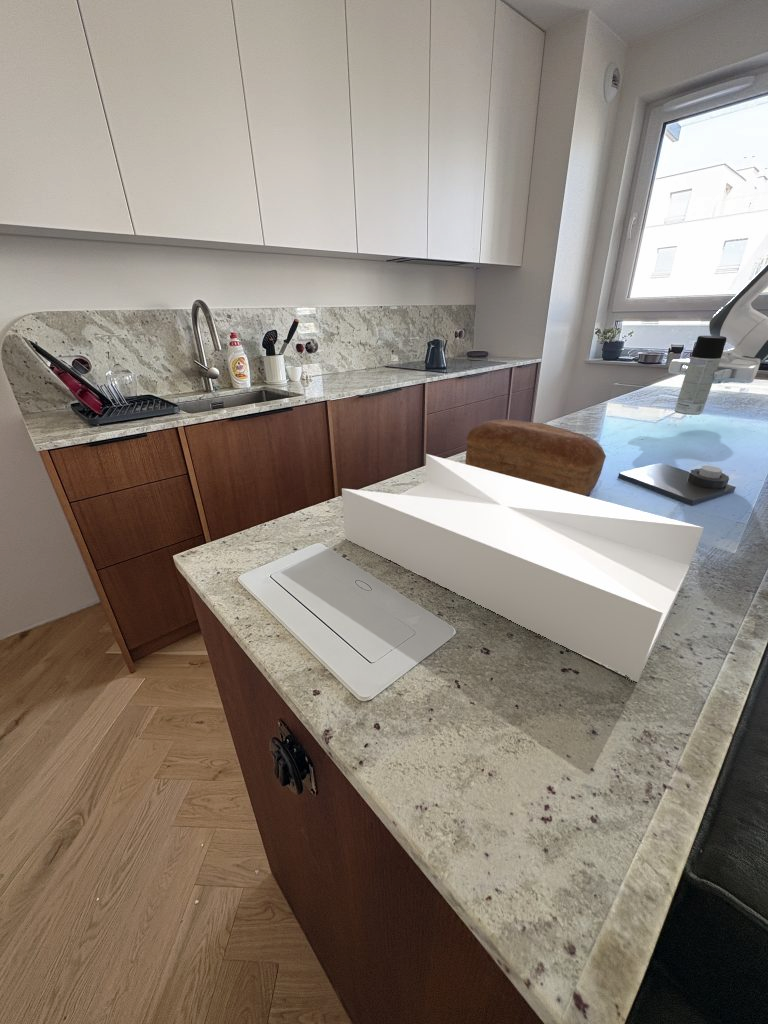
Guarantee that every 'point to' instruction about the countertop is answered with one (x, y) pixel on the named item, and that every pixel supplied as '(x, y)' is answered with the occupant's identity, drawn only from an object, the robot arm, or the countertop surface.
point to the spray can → (700, 374)
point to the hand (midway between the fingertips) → (699, 372)
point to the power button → (710, 472)
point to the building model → (535, 555)
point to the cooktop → (678, 483)
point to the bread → (536, 454)
